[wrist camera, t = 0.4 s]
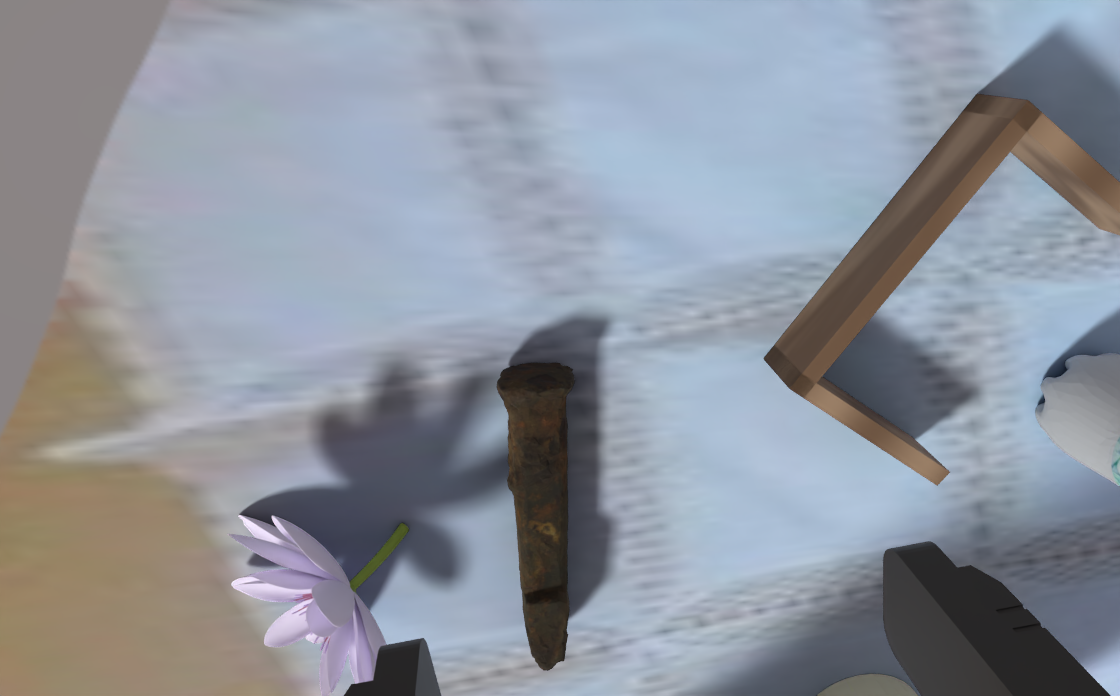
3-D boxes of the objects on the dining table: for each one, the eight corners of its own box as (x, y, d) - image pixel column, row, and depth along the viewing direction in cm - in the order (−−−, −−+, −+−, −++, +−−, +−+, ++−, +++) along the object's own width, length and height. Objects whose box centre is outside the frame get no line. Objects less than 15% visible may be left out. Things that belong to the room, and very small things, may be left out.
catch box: (1113, 213, 43) (1173, 230, 39) (901, 450, 47) (937, 485, 43) (976, 93, 40) (1028, 100, 36) (763, 358, 44) (789, 388, 40)
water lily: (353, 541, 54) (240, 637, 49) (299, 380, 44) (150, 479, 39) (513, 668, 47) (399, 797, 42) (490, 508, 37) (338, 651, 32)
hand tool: (496, 356, 43) (498, 393, 38) (570, 355, 43) (579, 391, 39) (499, 634, 50) (501, 691, 46) (562, 631, 50) (570, 688, 46)
